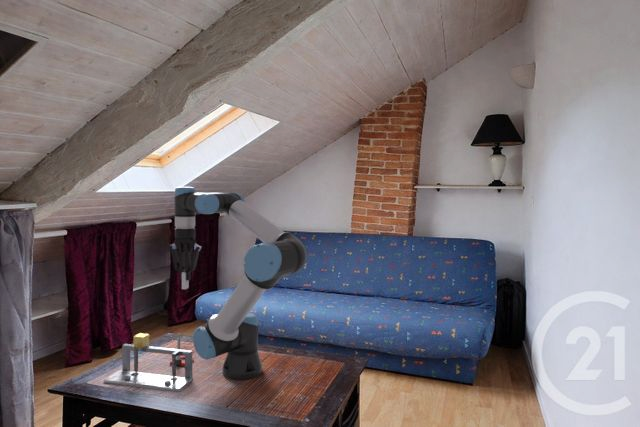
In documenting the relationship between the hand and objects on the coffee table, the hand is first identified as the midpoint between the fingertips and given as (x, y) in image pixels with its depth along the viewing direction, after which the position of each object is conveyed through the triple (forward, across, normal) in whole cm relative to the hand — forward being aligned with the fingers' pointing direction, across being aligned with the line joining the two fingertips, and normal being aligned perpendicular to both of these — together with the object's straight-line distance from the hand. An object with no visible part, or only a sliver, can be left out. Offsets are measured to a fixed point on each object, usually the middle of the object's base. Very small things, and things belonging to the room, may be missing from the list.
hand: (185, 288), depth 179 cm
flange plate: (+32, +8, +13) cm, 36 cm away
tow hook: (+33, +5, -7) cm, 34 cm away
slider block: (+31, +15, +8) cm, 35 cm away
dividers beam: (+32, +8, +8) cm, 34 cm away
